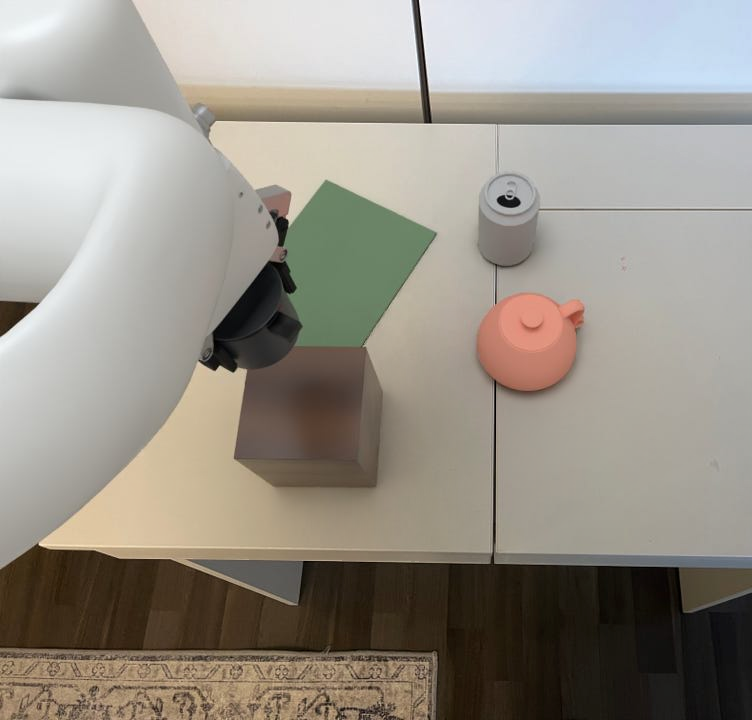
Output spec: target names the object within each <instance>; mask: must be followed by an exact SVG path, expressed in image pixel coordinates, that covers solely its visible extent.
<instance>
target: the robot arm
mask: <svg viewBox="0 0 752 720" xmlns="http://www.w3.org/2000/svg"><path fill="white" fill-rule="evenodd" d="M216 122H217V117H216V115H215V113H214V112H213V111H212V110H211V109H210V108H209V107H208V106H207V105H205V104H203V103H201V102H196V103H195V104H194V106H193V107H192V108H191V107H190V105H189V104H188V101H187V100H186V98H185V96H184V94H183V92H182V91H181V88H180V86H179V84H178V82H177V81H176V79H175V77H174V76H173V74H172V71H171V70H170V68H169V66H168V64H167V62H166V61H165V59H164V57H163V55H162V53H161V51H160V49H159V47H158V46H157V43H156V41H155V40H154V39H153V36H152V35H151V33H150V31H149V29H148V27H147V25H146V23H145V22H144V19H143V18H142V16H141V14H140V12H139V10H138V9H137V6H136V5H135V3H134V1H133V0H0V301H1V302H15V303H16V302H18V303H34V304H37V305H36V307H34V308H33V309H32V310H31V311H30V312H29V313H27V315H26V316H24V317H23V318H22V319H21V320H19V321H18V322H17V323H16V324H15V325H13V326H12V328H10V329H9V330H8V331H7V332H6V333H4V334H2V335H1V336H0V570H2V569H3V568H5V567H6V566H8V565H9V564H10V563H12V562H13V561H15V560H16V559H17V558H20V557H21V556H22V555H24V554H25V553H26V552H27V551H29V550H30V549H32V548H33V547H35V546H36V545H37V544H39V543H40V542H42V541H43V540H45V539H46V538H47V537H49V536H50V535H51V534H52V533H54V532H55V531H56V530H58V529H59V528H61V527H62V526H63V525H65V523H67V522H68V521H69V520H70V519H71V518H73V517H74V516H75V515H76V514H77V513H79V512H80V511H81V510H82V509H83V508H84V507H86V505H88V504H89V503H90V502H91V501H92V500H93V499H94V498H95V497H96V496H98V495H99V494H100V493H101V492H102V491H103V490H104V489H105V488H106V487H107V486H108V485H109V484H110V483H111V482H112V481H113V480H114V479H115V478H116V477H118V475H119V474H121V472H123V471H124V469H126V467H128V465H129V464H131V463H132V462H133V461H134V459H136V457H137V456H138V455H139V454H140V453H141V452H142V451H143V450H144V449H145V448H146V447H147V446H148V445H149V443H150V442H151V441H152V440H153V438H154V437H155V436H156V435H157V434H158V433H159V432H160V430H161V429H162V428H163V427H164V425H165V424H166V423H167V422H168V420H169V419H170V417H171V416H172V414H173V412H174V411H175V409H176V408H177V407H178V405H179V403H180V402H181V400H182V398H183V396H184V394H185V392H186V390H187V388H188V386H189V385H190V383H191V380H192V378H193V375H194V373H195V370H196V367H197V365H198V362H199V363H200V364H201V365H203V366H204V367H206V368H207V369H209V370H211V371H213V372H216V371H217V370H218V369H219V367H221V368H222V369H225V370H227V371H229V372H230V373H233V374H234V373H235V372H237V370H238V369H239V368H238V367H237V365H238V364H237V363H236V362H235V361H234V359H233V358H232V357H231V356H230V355H229V354H228V353H227V351H226V350H225V349H224V348H223V347H222V346H220V345H219V344H217V343H215V342H213V330H214V329H215V328H216V327H217V326H218V325H219V324H220V322H221V321H222V320H223V319H224V317H225V316H226V315H227V314H228V312H229V311H230V310H231V309H232V307H233V306H234V305H235V304H236V302H237V301H238V300H239V298H240V297H241V296H242V295H243V293H244V292H245V291H246V289H247V288H248V287H249V286H250V284H251V283H252V282H253V280H254V279H255V278H256V277H257V275H258V274H259V273H260V271H261V270H262V269H263V267H264V266H265V265H266V263H267V262H268V261H269V262H270V263H271V264H272V265H273V266H274V267H275V269H276V270H277V272H278V273H279V275H280V277H281V280H282V283H283V288H284V290H285V292H286V293H288V294H291V293H294V292H295V290H296V289H297V287H296V285H295V283H294V281H293V279H292V277H291V275H290V272H291V271H290V269H289V267H288V265H287V263H286V261H285V260H286V258H287V256H288V249H287V248H285V247H283V246H284V242H285V238H286V234H287V230H288V228H289V227H290V222H289V219H287V216H288V215H289V211H290V208H291V207H290V205H291V200H292V192H291V190H288V189H286V188H284V187H282V186H280V185H278V184H273V185H268V186H264V187H261V188H257V189H255V188H254V187H253V186H252V185H251V183H250V182H249V181H248V179H247V178H246V177H245V176H244V175H243V174H242V173H241V172H240V170H239V169H238V167H236V166H235V165H234V164H233V163H232V162H231V160H229V158H228V157H227V156H226V155H225V154H224V153H223V152H221V150H219V149H218V148H216V147H215V146H213V144H212V142H211V139H210V133H211V131H212V129H211V127H212V126H213V125H214V124H215V123H216Z"/></svg>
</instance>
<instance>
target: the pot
mask: <svg viewBox="0 0 752 720" xmlns="http://www.w3.org/2000/svg"><path fill="white" fill-rule="evenodd" d="M302 327H303V326H302V324H301V322H299V317H298V314H297V312H296V310H295V308H294V306H293V304H292V303H291V301H290V299H289V297H288V295H287V293H286V292H285V290H284V288H283V283H282V280H281V277H280V275H279V273H278V272H277V270H276V269H275V267H274V266H273V265H272V264H271V263H270V262H269V261H268V262H267V263H266V265H265V266H264V267H263V269H262V270H261V271H260V273H259V274H258V275H257V277H256V278H255V279H254V280H253V282H252V283H251V284H250V286H249V287H248V288H247V289H246V291H245V292H244V293H243V295H242V296H241V297H240V298H239V300H238V301H237V302H236V304H235V305H234V306H233V307H232V309H231V310H230V311H229V312H228V314H227V315H226V316H225V317H224V319H223V320H222V321H221V322H220V324H219V325H218V326H217V327H216V328H215V329H214V330H213V342H215V343H217V344H219V345H220V346H222V347H223V348H224V349H225V350H226V351H227V353H228V354H229V355H230V356H231V357H232V358H233V359H234V361H235V362H236V363H237V364H238V365H237V367H238V368H237V369H243V370H247V369H252V370H253V369H261V368H265V367H268V366H271V365H273V364H275V363H277V362H279V361H280V360H281V359H283V358H284V357H285V356H286V355H287V354H288V353H289V352H290V351H291V350H292V348H293V347H294V345H295V343H296V341H297V339H298V335H299V331H300V330H301V328H302Z"/></svg>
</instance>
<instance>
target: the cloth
mask: <svg viewBox="0 0 752 720" xmlns="http://www.w3.org/2000/svg"><path fill="white" fill-rule="evenodd" d="M437 235H438V232H437V231H434V230H432V229H430V228H428V227H426V226H424V225H422V224H420V223H418V222H416V221H414V220H411V219H409V218H408V217H406V216H404V215H401V214H399V213H397V212H395V211H393V210H391V209H389V208H386V207H384V206H383V205H380V204H378V203H376V202H373V201H372V200H370V199H367V198H366V197H363V196H361V195H359V194H357V193H355V192H353V191H352V190H349V189H347V188H345V187H343V186H340V185H338V184H337V183H335V182H332V181H330V180H328V179H324V181H323V182H322V184H321V185H320V187H318V189H317V190H316V191H315V192H314V194H313V196H312V197H311V198H310V200H309V201H308V202H307V203H306V204H305V206H304V207H303V208H302V210H301V211H300V212H299V213H298V214H297V216H296V217H295V219H294V220H293V221H292V222H291V224H289V226H288V230H287V234H286V238H285V242H284V246H283V247H285V248H287V249H288V256H287V258H286V260H285V261H286V263H287V265H288V267H289V269H290V271H291V272H290V275H291V277H292V279H293V281H294V283H295V285H296V287H297V289H296V290H295V292H294V293H291V294H288V293H287V295H288V297H289V299H290V301H291V303H292V304H293V306H294V308H295V310H296V312H297V314H298V317H299V322H301V324H302V326H303V327H302V328H301V330H300V331H299V335H298V339H297V341H296V343H295V345H294V346H328V347H363V345H364V344H365V342H366V341H367V339H368V338H369V337H370V335H371V333H372V332H373V330H374V329H375V327H376V326H377V324H378V323H379V321H380V320H381V318H382V317H383V316H384V314H385V312H386V311H387V309H388V308H389V306H390V305H391V304H392V302H393V300H394V299H395V297H396V296H397V294H398V293H399V292H400V290H401V288H402V287H403V285H404V284H405V282H406V281H407V279H408V278H409V276H410V275H411V273H412V272H413V271H414V269H415V267H416V265H417V264H418V263H419V262H420V260H421V258H422V257H423V255H424V254H425V253H426V251H427V250H428V248H429V246H430V245H431V244H432V243H433V241H434V239H435V238H436V236H437Z"/></svg>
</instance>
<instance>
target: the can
mask: <svg viewBox="0 0 752 720" xmlns="http://www.w3.org/2000/svg"><path fill="white" fill-rule="evenodd" d="M540 207H541V196H540V193H539V190H538V188H537V187H536V186H535V184H534V182H533V181H532V180H531V179H530V178H529V177H528V176H526V175H525V174H524V173H522V172H518V171H515V170H513V171H511V170H510V171H509V170H506V171H501V172H498V173H496V174H494V175H493V176H491V177H490V178H489V179H488V180H487V181H486V183H484V185H483V186H482V187H481V189H480V192H479V194H478V225H477V226H478V229H477V230H478V231H477V246H478V249H479V251H480V253H481V254H482V256H483V257H484V258H485V259H486V260H487V261H489V262H491V263H493V264H496V265H499V266H509V267H510V266H513V265H518V264H520V263H521V262H523V261H525V260H526V259H527V258H528V257H529V255H530V254H532V250H533V247H534V243H535V237H536V231H537V224H538V220H539V213H540Z"/></svg>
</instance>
